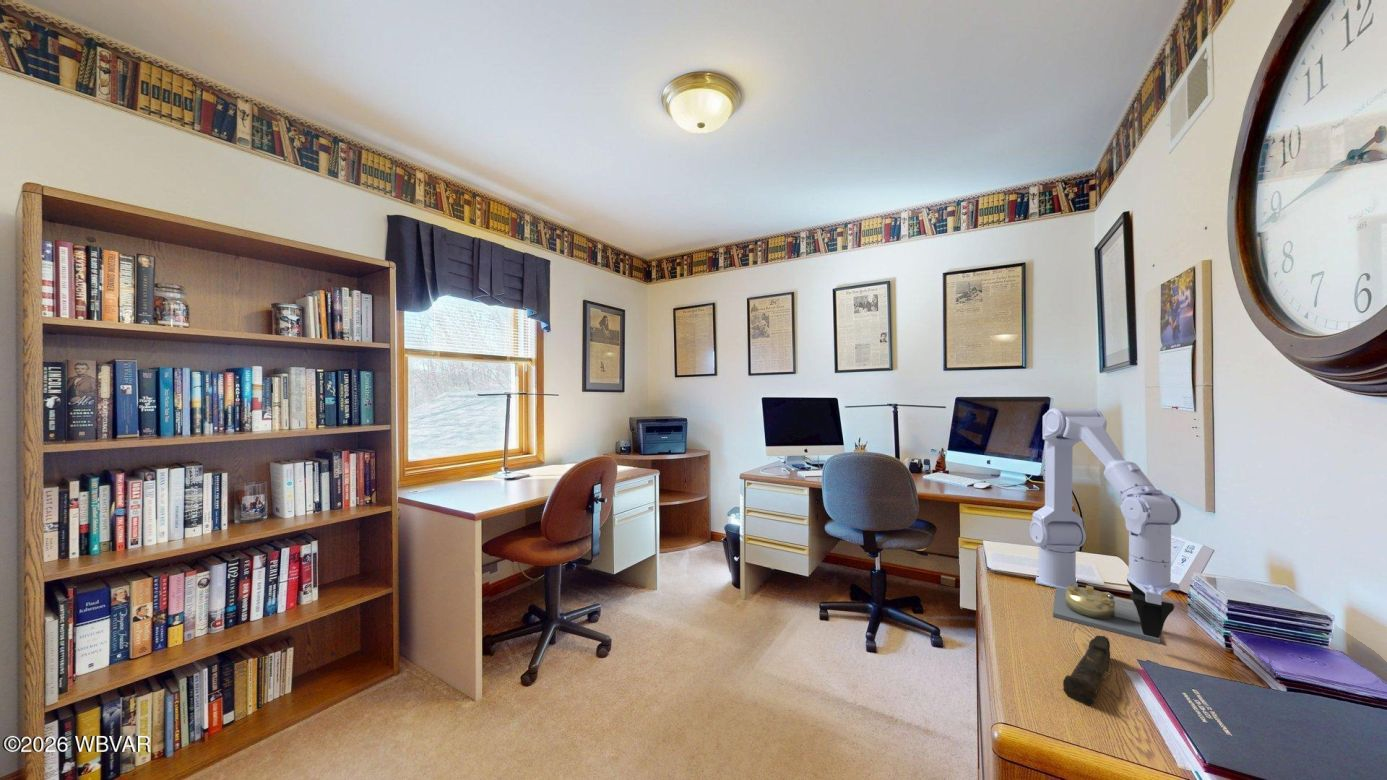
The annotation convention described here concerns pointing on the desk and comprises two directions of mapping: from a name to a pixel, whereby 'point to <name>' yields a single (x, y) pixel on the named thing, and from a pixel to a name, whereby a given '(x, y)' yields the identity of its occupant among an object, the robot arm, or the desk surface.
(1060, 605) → the base plate
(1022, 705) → the desk surface
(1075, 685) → the dark brown statuette
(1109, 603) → the gold rounded piece
